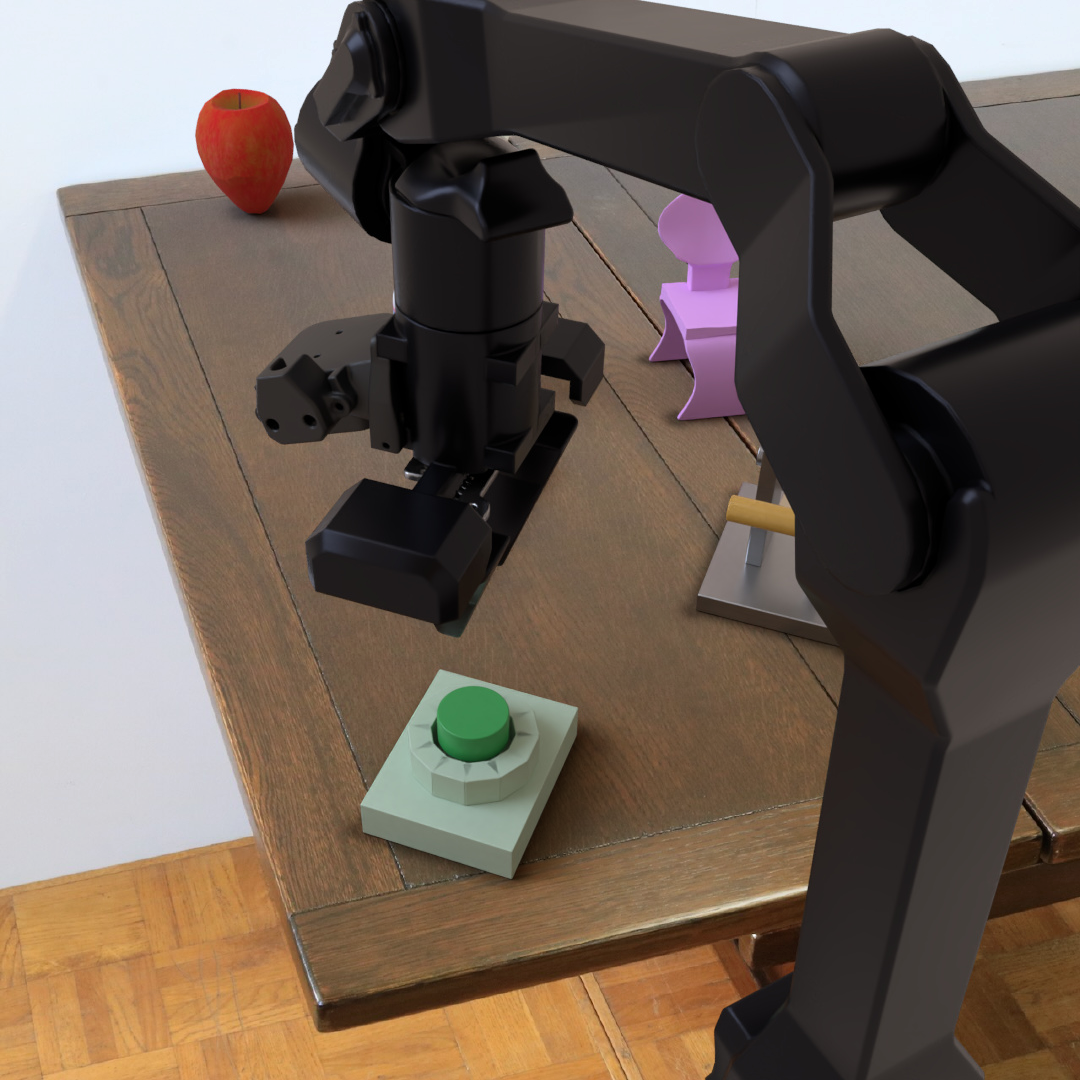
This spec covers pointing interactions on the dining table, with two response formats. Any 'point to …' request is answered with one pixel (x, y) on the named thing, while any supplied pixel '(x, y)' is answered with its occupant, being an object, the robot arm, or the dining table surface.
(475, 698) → the button
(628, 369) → the dining table surface
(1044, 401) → the robot arm
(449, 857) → the push button base
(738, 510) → the latch lever
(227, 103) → the apple
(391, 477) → the dining table surface
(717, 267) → the toy chair
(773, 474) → the latch bracket
